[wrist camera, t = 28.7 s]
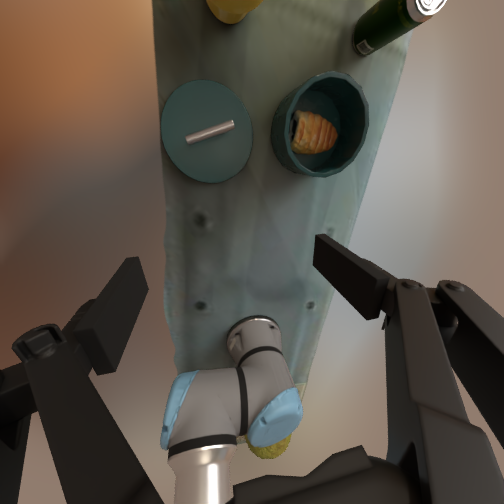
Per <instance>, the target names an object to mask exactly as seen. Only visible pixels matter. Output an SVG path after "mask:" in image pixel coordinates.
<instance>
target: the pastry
mask: <svg viewBox="0 0 504 504" xmlns="http://www.w3.org/2000/svg"><path fill="white" fill-rule="evenodd" d="M337 136H338V134H337V132H336V129H335V127H333V126H332V123H331V122H328V121H327V120H326V119H325V118H322V117H321V115H319V114H313V113H312V112H310V111H305V112H304V111H300V110H297V111H296V112H295V113H294V116H293V118H292V120H291V123H290V133H289V140H290V145H291V150H292V151H294V152H295V153H297V154H307V155H310V154H316V153H320V152H324V151H328V150H329V149H331V148H332V146H333V145H334V143H335V140H336V139H337Z"/></svg>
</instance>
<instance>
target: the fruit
mask: <svg viewBox="0 0 504 504" xmlns="http://www.w3.org/2000/svg"><path fill="white" fill-rule="evenodd" d="M244 436H245V438H246V443H247V444H248V446H249V448H250V450H251V451H252V452H253V453H254V454H255V455H256V456H257V457H260V458H261V459H265V458H266V459H268V458H269V459H273V458H276V457H278V456H279V455H281V454H282V453H283V452H285V450H286V448H287V447H288V444H289V442H290V437H291V434H290V435H288V436H287V437H286V438H284V439H283V440H281V441H279V442H277V443H275V444H273V445H270V446H267V447H261V448H260V447H258V446H257V447H254V446H253V445H251V444H250V441H249V440H248V437H247V435H244Z"/></svg>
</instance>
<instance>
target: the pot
mask: <svg viewBox="0 0 504 504" xmlns="http://www.w3.org/2000/svg"><path fill="white" fill-rule="evenodd" d="M297 110H300V111H304V112H305V111H310V112H312V113H313V114H319V115H321V117H322V118H325V119H326V120H327V121H328V122H331V123H332V126H333V127H335V129H336V132H337V134H338V136H337V139H336V140H335V143H334V145H333V146H332V148H331V149H329V150H328V151H324V152H320V153H316V154H310V155H307V154H297V153H295V152H294V151H292V150H291V145H290V140H289V133H290V123H291V120H292V118H293V116H294V113H295V112H296V111H297ZM368 127H369V107H368V102H367V100H366V97H365V95H364V92H363V90H362V87H361V86H360V85H359V84H358V83H357V82H356V81H355V80H354V79H353V78H352V77H351V76H349V75H348V74H344V73H339V72H334V71H328V72H325V73H322V74H319V75H316V76H313V77H312V78H310V79H309V80H307V81H306V82H304V83H303V84H302V85H300V86H299V87H297V88H296V89H294V90H293V91H292V92H291V93H290V94H289V95H288V96H287V97H286V98H285V99H284V100H283V101H282V102H281V103H280V105H279V107H278V109H277V111H276V113H275V116H274V118H273V122H272V128H271V141H272V146H273V150H274V152H275V155H276V157H277V158H278V160H279V161H280V162H281V164H282V165H283V166H284V167H286V168H287V169H289V170H291V171H293V172H294V173H298V174H302V175H307V176H312V177H328V176H331V175H334V174H336V173H339V172H341V171H342V170H343V169H345V168H346V167H347V166H348V165H349V164H350V163H351V162H353V161H354V159H355V158H356V156H357V154H358V153H359V151H360V149H361V148H362V146H363V144H364V141H365V138H366V134H367V130H368Z"/></svg>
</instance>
